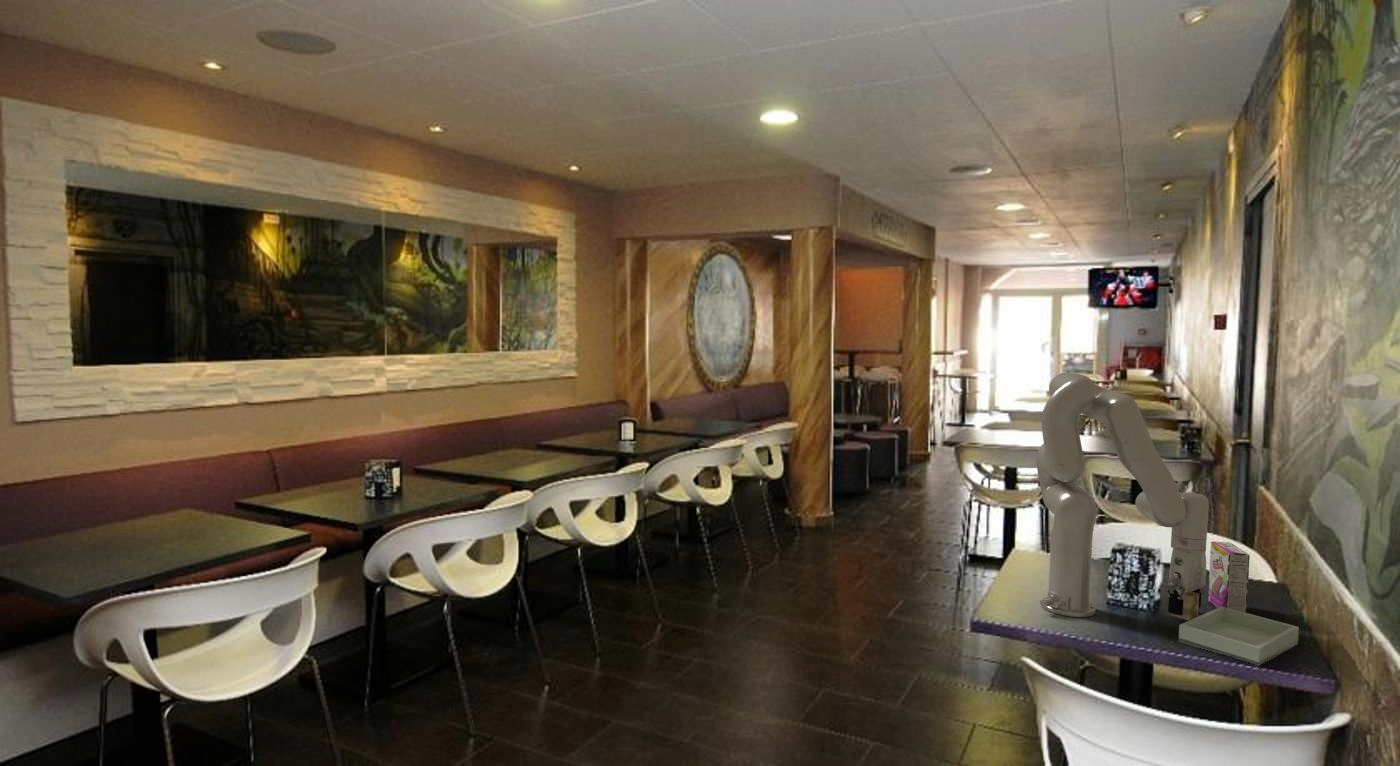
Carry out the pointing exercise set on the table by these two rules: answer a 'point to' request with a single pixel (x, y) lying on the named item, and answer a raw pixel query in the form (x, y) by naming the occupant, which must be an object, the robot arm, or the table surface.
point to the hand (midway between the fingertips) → (1184, 610)
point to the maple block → (1189, 606)
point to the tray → (1239, 635)
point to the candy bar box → (1228, 576)
